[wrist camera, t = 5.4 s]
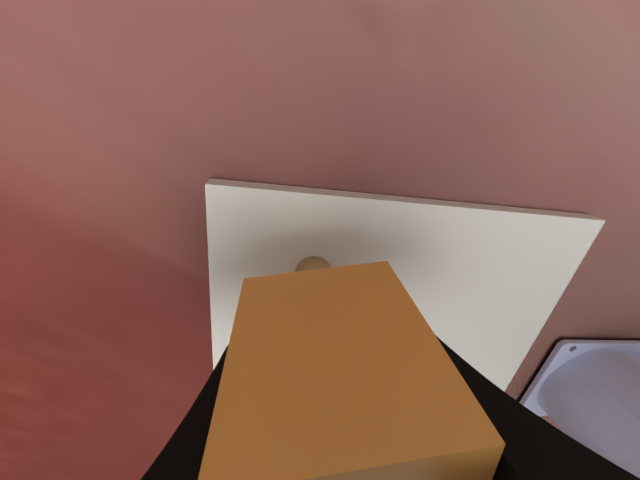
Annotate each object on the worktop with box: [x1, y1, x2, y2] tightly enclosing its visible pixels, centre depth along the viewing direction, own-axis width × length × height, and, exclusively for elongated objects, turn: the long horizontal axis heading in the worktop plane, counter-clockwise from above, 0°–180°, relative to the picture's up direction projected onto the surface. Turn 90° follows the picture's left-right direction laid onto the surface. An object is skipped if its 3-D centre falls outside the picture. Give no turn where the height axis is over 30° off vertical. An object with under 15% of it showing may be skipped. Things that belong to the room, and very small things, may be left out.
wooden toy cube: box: [198, 261, 505, 480], centre depth 8 cm, size 5×5×6 cm
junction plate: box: [205, 178, 605, 392], centre depth 16 cm, size 20×16×4 cm
